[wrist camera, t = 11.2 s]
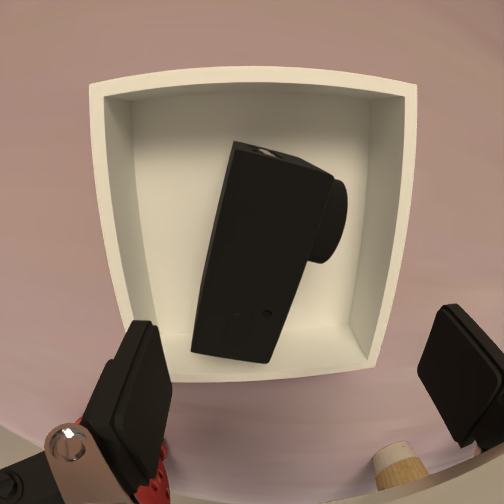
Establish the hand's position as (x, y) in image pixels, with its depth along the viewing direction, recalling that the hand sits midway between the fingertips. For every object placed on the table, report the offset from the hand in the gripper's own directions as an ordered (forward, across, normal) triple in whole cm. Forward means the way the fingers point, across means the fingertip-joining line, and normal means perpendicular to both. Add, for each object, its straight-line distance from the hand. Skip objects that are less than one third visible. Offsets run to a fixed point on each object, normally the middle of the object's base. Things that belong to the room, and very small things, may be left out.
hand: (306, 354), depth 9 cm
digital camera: (+12, +1, 0) cm, 12 cm away
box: (+13, +1, 0) cm, 13 cm away
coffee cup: (+14, -20, +37) cm, 44 cm away
